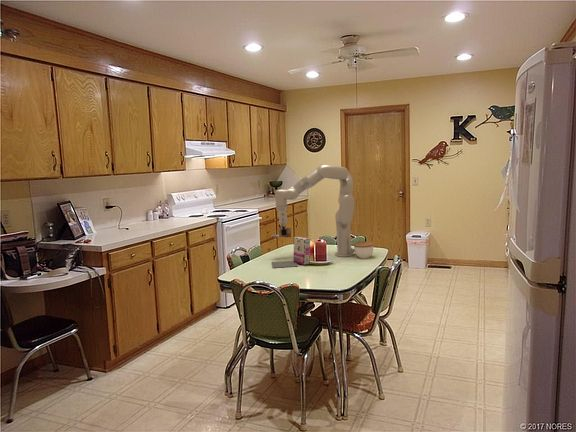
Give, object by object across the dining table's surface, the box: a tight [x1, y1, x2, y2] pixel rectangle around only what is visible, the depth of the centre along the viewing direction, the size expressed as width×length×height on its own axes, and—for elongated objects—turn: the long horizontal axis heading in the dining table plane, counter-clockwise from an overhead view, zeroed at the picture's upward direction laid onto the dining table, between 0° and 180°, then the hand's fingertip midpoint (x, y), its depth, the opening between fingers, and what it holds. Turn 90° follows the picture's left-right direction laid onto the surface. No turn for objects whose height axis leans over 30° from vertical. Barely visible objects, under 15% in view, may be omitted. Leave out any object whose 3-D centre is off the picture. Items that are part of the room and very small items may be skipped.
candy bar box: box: [292, 236, 311, 266], centre depth 286 cm, size 11×5×16 cm, turn 37°
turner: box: [271, 227, 292, 238], centre depth 302 cm, size 13×5×6 cm, turn 93°
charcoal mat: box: [271, 260, 298, 269], centre depth 286 cm, size 16×15×1 cm
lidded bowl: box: [353, 240, 374, 260], centre depth 294 cm, size 13×13×11 cm
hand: (284, 234), depth 302 cm, fingers closed on turner, 2 cm apart
